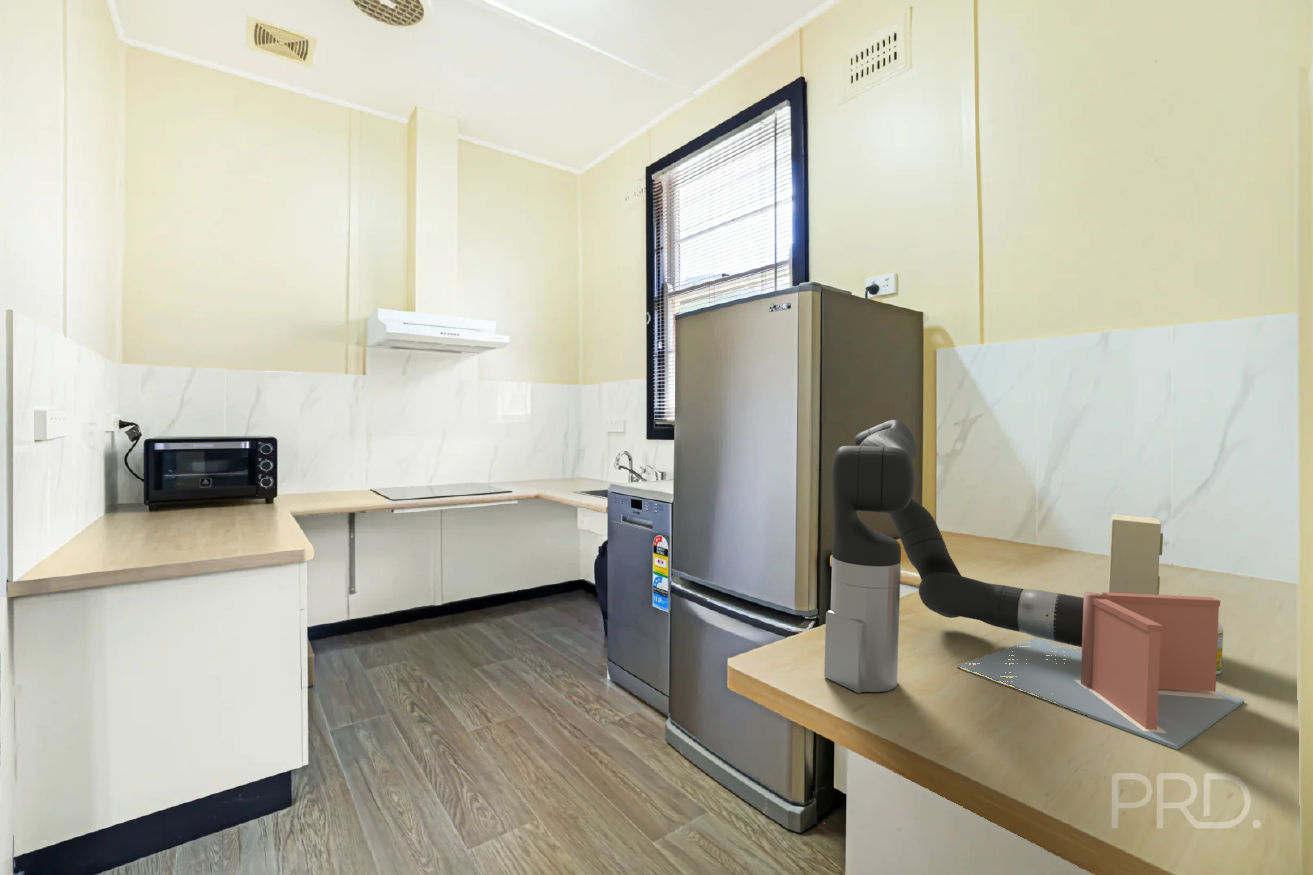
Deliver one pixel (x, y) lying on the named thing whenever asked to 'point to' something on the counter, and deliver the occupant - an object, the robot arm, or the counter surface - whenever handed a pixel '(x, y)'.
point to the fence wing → (1180, 636)
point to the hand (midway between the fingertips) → (1202, 646)
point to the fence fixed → (1121, 658)
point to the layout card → (1176, 708)
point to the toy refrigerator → (1135, 555)
